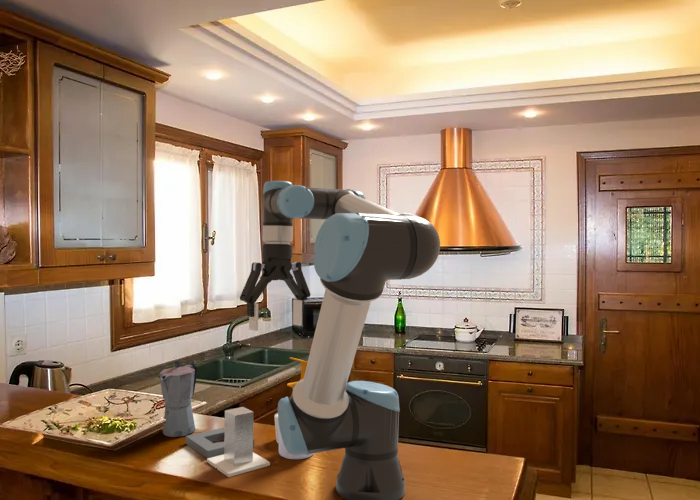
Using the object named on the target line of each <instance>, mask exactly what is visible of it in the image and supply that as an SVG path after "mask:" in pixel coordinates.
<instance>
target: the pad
mask: <svg viewBox="0 0 700 500" xmlns="http://www.w3.org/2000/svg"><path fill="white" fill-rule="evenodd" d="M206 462H207V463H208V464H209V465H211V467H214V468H215V469H216V468H217V469H216V470H218V471H219V472H221V473H222V474H223V475H225V476H226V477H228V478H232V477H234V476H237V475H238V476H239V475H241V474H244V473H248V472H251V471H252V472H253V471H256V470H259V469H263V468H267V467H269V466H270V465H271V462H270V461H268V460H267V459H265V458H264V457H263V456H260V455H259V454H257V453H255V452H254V451H253V461H252V462H248V463H244V464H241V465H237V466H233V465H231V464H230V463H228V462H227V461H225V460H224V454H223V455H219V456H215V457H212V458H208V459H207V458H206Z"/></svg>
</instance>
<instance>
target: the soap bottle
mask: <svg viewBox="0 0 700 500" xmlns="http://www.w3.org/2000/svg"><path fill="white" fill-rule="evenodd" d="M289 359H290V360H292V361H296V362H299V363H300V379H299V380H298V381H294V382H289V383H287V384H286V386H287V387H289V388H292V389H291V390H293V389H294V386H295V385H296V383H297V382H299V381H300V380H302V379H304V375H305V371H306V367H307V363H308V360H307V361H306V360H303V359H299V358H295V357H291V356H289ZM291 396H292V394H291ZM291 396H290V397H291ZM278 454H279V456H280V457H282V458H285V459H289V460H304V459H307V458H310V457H312V456H313V455H314V453H313V454H309V455H292V454H290V453H289V452H288V451H287V450H286V448H285V446H284V443H283V440H282V437H281V433H280V428H279V443H278Z"/></svg>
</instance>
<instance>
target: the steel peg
mask: <svg viewBox="0 0 700 500" xmlns="http://www.w3.org/2000/svg"><path fill="white" fill-rule="evenodd" d="M224 427H225V435H224V441H223V442H224V460H225V461H227V462H228V463H230V464H231V465H233V466H237V465H241V464H244V463H248V462H252V461H253V452H254V447H253V439H254V411H253V410H250V409H249V408H247V407H245V406H240V407H236V408H229V409H226V410H224Z"/></svg>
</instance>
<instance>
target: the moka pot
mask: <svg viewBox="0 0 700 500" xmlns="http://www.w3.org/2000/svg"><path fill="white" fill-rule="evenodd" d="M173 364H174V366H173V367H169V368H165V369H163V370H162V371H160V372H159V374H158V376H159V382H160V388H161V394H162V395H161V396H162V399H163V400H164V406H165V407H164V417H163V420H164V419H166V423H165V424H164V423H163V425H164V427H163V428H162V434H163V436H166V437H171V438H176V437H177V438H178V437H180V438H181V437H184V436H185V437H186V436H188V435H192V433H194V432H195V431H196V424H195V419H194V413H193V407H192V397H193V396H194V394H195V391H196V390H195V388H196V382H197V376H198V370H199V368H198V367H197V366H196V364H195V363H194V362H191V363H190V364H186V365H184V366H180V361H178V360H176V361H174V362H173Z"/></svg>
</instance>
